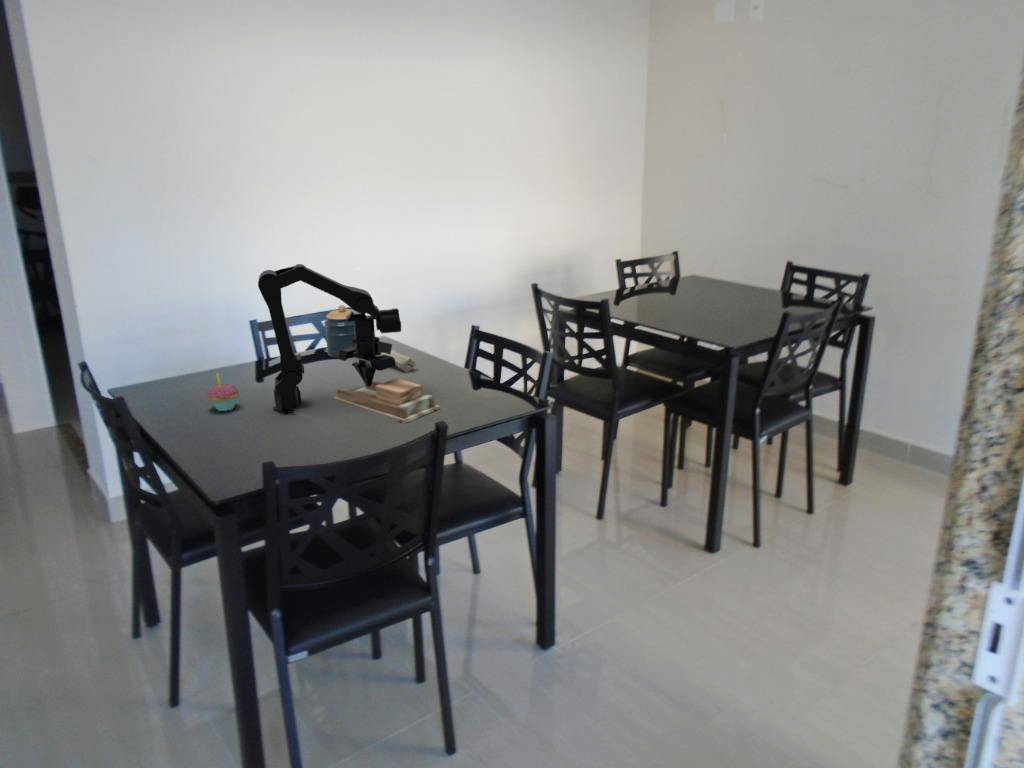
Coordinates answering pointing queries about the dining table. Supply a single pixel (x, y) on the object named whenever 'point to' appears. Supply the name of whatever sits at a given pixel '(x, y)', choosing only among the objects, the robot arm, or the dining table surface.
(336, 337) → the canister
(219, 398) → the cupcake
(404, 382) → the crate
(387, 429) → the dining table surface
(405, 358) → the faceted club
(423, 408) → the bay
